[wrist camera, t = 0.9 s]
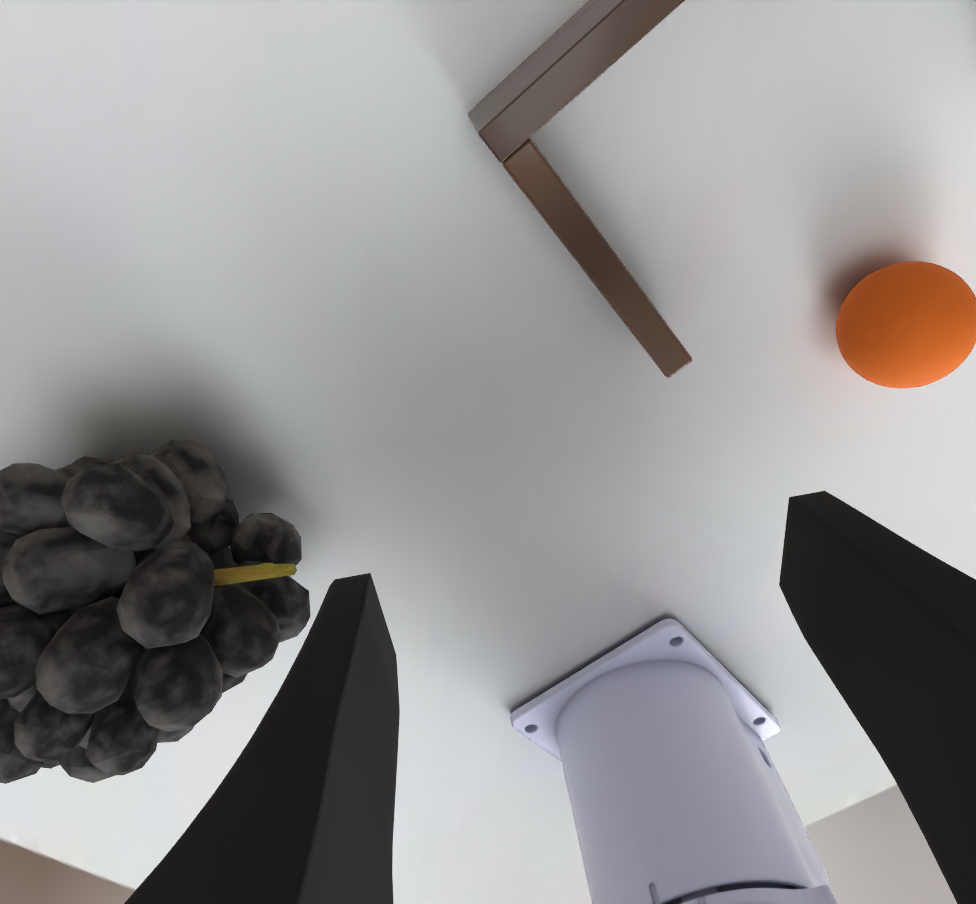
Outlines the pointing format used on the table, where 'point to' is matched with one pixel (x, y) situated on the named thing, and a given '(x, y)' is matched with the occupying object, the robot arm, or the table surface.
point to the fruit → (131, 606)
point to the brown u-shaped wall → (507, 130)
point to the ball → (907, 324)
